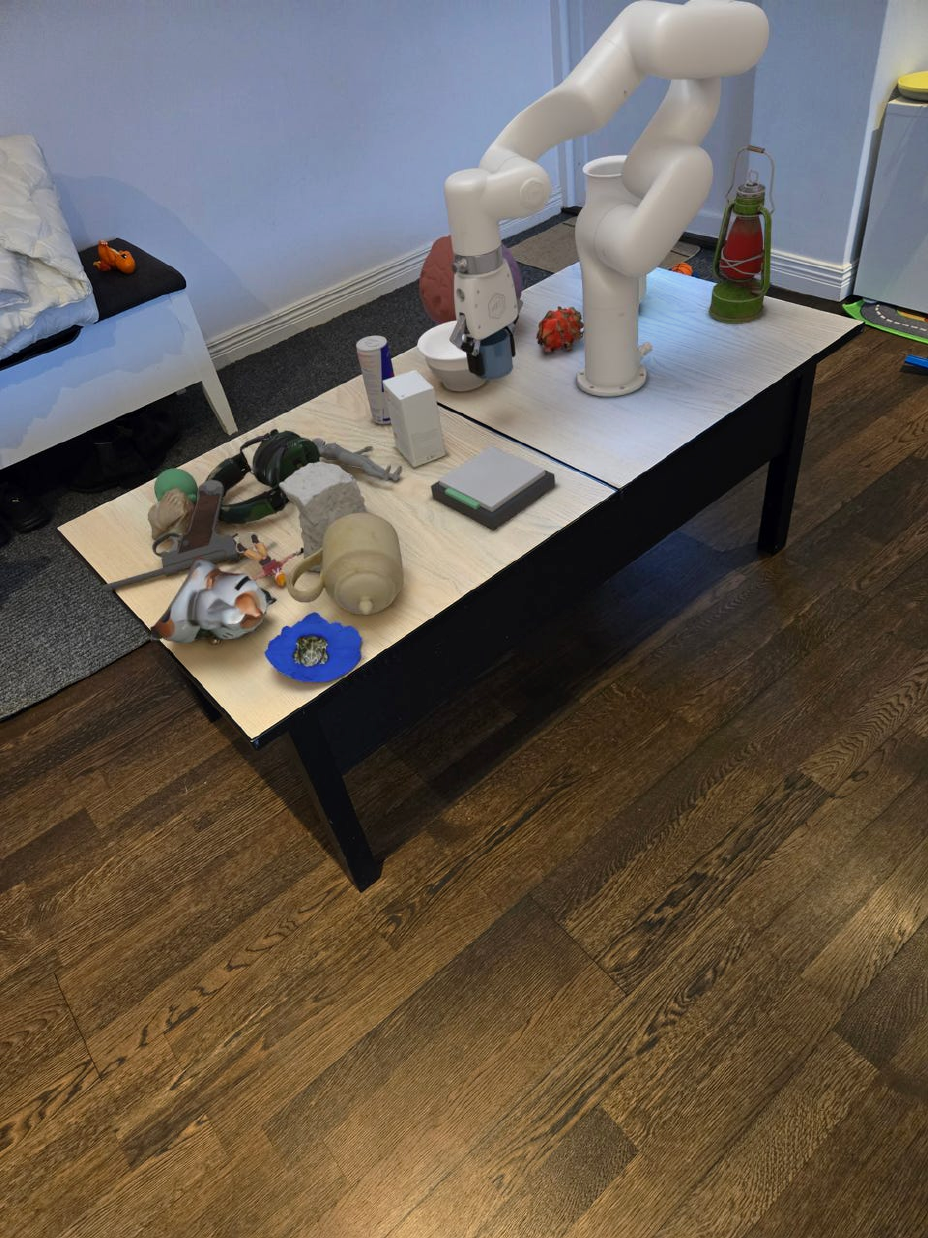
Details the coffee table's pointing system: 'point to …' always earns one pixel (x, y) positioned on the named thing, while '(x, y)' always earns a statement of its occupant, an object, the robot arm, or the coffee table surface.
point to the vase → (610, 189)
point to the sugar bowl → (355, 565)
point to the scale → (493, 487)
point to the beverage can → (376, 374)
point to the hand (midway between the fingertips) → (492, 363)
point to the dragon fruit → (560, 329)
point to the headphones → (263, 474)
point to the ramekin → (496, 355)
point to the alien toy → (176, 484)
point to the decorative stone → (321, 501)
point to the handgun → (192, 540)
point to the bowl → (447, 359)
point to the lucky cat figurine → (212, 606)
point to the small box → (414, 417)
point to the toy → (315, 649)
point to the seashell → (171, 514)
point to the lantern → (743, 253)
